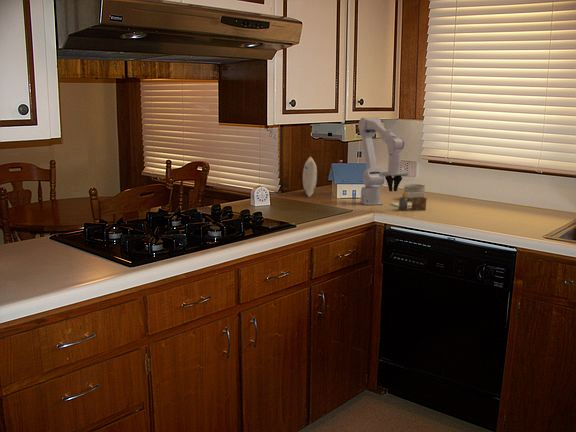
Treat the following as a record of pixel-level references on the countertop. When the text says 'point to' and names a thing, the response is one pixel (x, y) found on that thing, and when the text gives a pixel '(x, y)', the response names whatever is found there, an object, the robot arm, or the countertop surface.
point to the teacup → (414, 188)
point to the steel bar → (413, 194)
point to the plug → (403, 203)
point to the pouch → (309, 176)
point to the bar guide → (419, 203)
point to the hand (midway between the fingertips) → (392, 191)
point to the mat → (398, 204)
